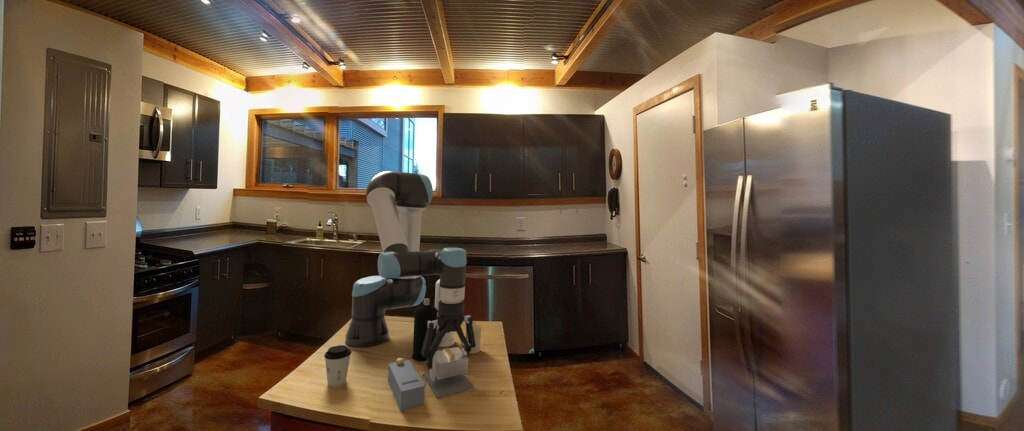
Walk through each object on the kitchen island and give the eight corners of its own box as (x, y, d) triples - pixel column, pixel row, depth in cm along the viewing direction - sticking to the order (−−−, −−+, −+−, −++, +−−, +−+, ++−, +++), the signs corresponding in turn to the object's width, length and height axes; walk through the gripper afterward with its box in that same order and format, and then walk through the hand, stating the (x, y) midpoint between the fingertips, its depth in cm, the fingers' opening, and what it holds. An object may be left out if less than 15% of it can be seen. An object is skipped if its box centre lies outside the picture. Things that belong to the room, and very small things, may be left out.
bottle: (431, 339, 126) (434, 268, 126) (451, 337, 130) (454, 267, 129) (435, 348, 119) (438, 272, 119) (456, 345, 123) (460, 271, 122)
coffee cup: (353, 376, 97) (355, 343, 97) (345, 389, 90) (347, 353, 90) (328, 377, 96) (329, 343, 96) (318, 390, 89) (320, 354, 89)
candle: (465, 347, 121) (466, 320, 121) (480, 347, 122) (481, 321, 122) (464, 353, 116) (465, 326, 116) (479, 354, 116) (481, 326, 116)
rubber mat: (422, 374, 100) (422, 373, 100) (456, 367, 106) (456, 365, 106) (437, 398, 88) (437, 396, 88) (474, 388, 94) (474, 386, 94)
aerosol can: (429, 363, 108) (432, 303, 107) (407, 359, 109) (409, 300, 109) (440, 352, 116) (442, 297, 115) (418, 349, 117) (421, 294, 117)
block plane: (387, 380, 96) (388, 360, 96) (408, 376, 99) (409, 356, 99) (400, 410, 82) (401, 386, 82) (424, 404, 85) (425, 381, 85)
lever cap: (429, 367, 98) (430, 349, 98) (457, 361, 103) (458, 343, 103) (438, 379, 91) (439, 360, 91) (467, 372, 96) (468, 354, 96)
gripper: (418, 308, 88) (414, 390, 88) (489, 299, 99) (486, 372, 100) (411, 300, 94) (407, 377, 95) (478, 293, 106) (475, 361, 106)
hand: (447, 374), depth 97 cm, fingers closed on lever cap, 9 cm apart
